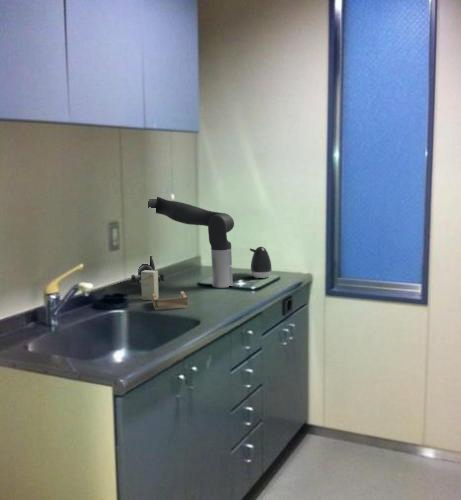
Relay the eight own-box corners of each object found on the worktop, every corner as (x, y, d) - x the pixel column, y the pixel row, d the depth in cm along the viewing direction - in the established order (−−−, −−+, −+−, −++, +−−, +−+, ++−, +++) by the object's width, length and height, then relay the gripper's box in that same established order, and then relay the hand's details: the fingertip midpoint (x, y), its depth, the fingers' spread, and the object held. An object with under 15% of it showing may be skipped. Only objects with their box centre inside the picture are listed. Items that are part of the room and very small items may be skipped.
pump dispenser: (251, 275, 313) (250, 245, 311) (272, 275, 312) (271, 244, 310) (249, 279, 303) (248, 248, 301) (271, 279, 302) (270, 248, 300)
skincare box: (141, 299, 269) (139, 271, 267) (146, 297, 273) (144, 269, 271) (154, 300, 267) (153, 272, 265) (159, 298, 271) (158, 270, 269)
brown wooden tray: (152, 302, 264) (152, 293, 263) (183, 300, 266) (183, 290, 265) (155, 310, 251) (154, 300, 250) (187, 307, 253) (187, 297, 253)
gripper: (130, 267, 289) (131, 273, 273) (161, 265, 292) (164, 271, 276) (130, 283, 290) (132, 290, 274) (162, 281, 293) (165, 288, 277)
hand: (148, 281), depth 275 cm, fingers open, 8 cm apart
